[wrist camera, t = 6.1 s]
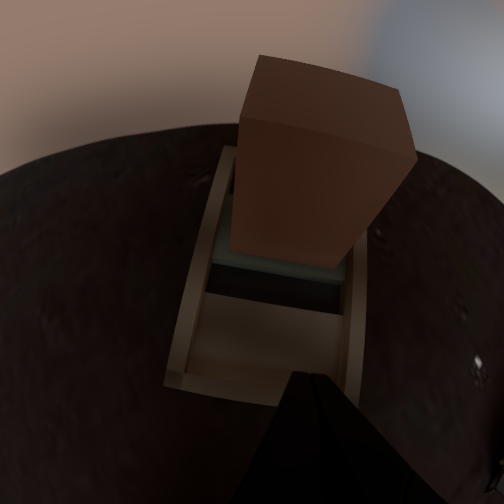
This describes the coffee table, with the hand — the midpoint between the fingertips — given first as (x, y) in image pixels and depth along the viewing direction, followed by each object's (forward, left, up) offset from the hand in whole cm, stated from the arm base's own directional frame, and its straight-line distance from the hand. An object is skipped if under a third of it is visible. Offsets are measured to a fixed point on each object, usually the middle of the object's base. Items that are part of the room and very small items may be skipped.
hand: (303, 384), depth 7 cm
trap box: (+6, +2, -9) cm, 11 cm away
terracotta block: (+8, +3, -7) cm, 11 cm away
